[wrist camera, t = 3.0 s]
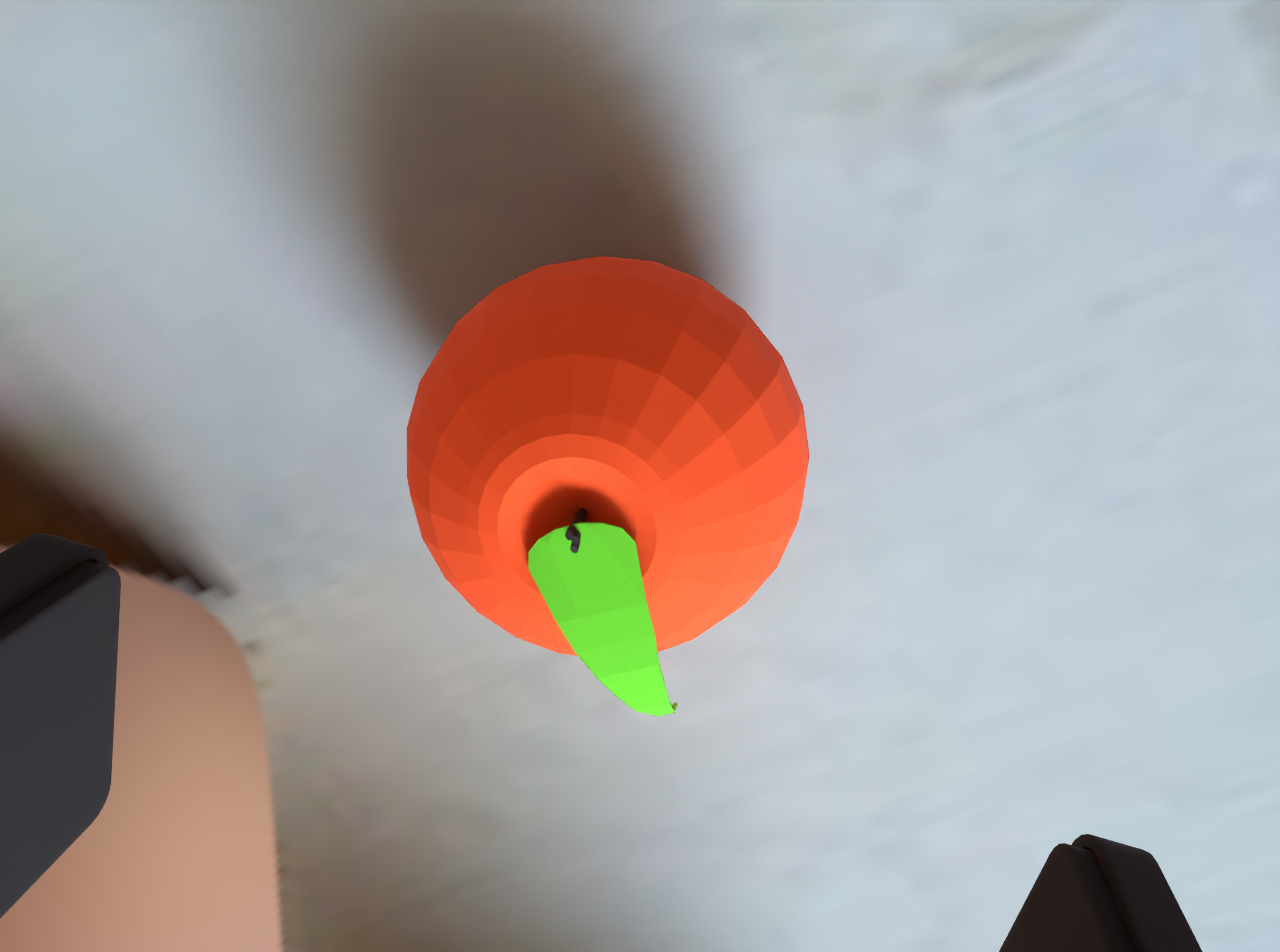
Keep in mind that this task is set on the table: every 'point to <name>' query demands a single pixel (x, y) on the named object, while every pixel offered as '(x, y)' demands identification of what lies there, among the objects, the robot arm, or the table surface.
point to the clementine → (607, 463)
